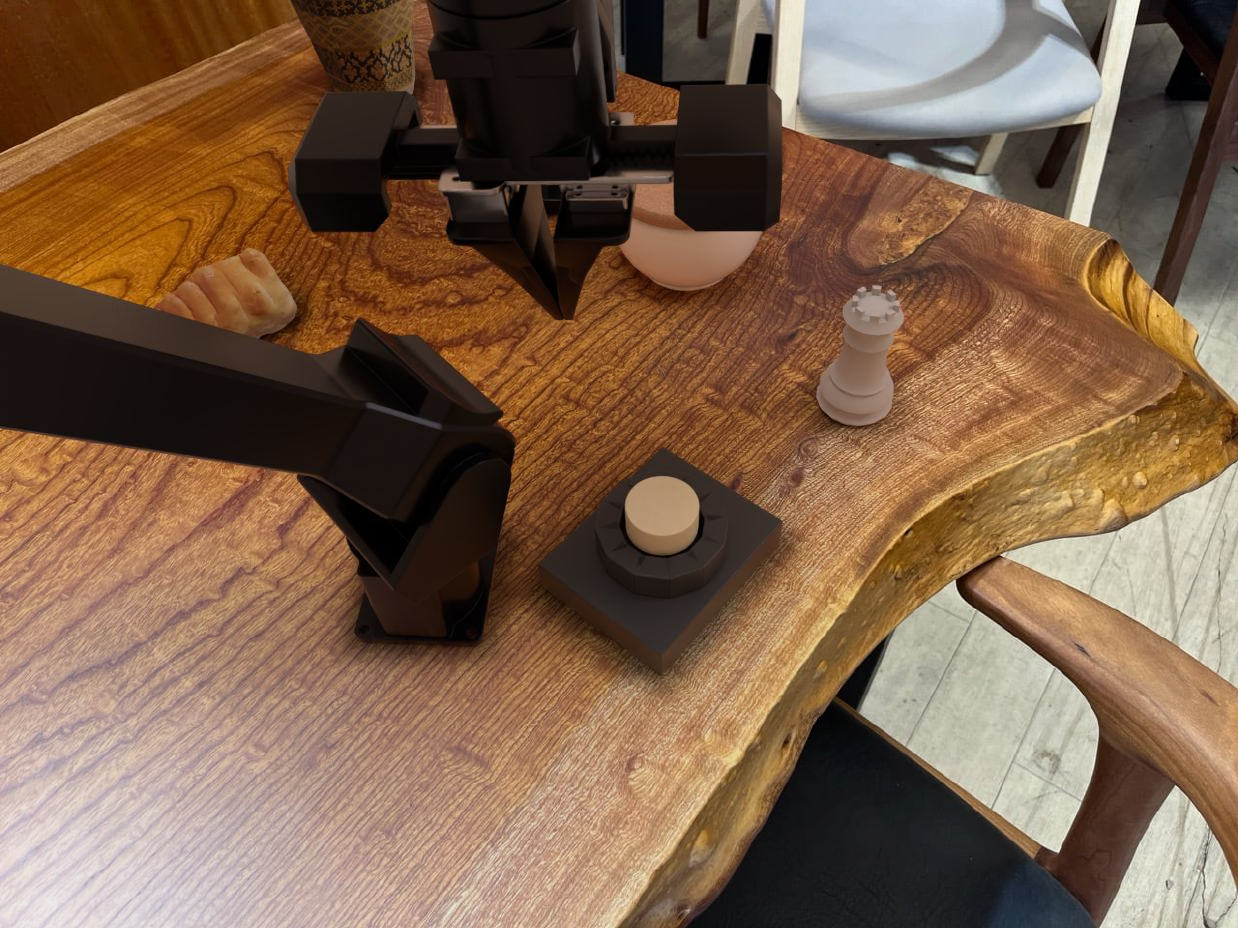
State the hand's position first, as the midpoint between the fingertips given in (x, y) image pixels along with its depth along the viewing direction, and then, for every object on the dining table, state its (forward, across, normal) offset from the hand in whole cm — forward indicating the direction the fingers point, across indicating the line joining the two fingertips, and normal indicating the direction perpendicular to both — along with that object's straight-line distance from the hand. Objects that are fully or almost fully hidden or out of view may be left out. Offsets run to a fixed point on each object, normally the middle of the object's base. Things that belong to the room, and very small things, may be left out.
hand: (565, 313), depth 44 cm
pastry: (+12, +25, -11) cm, 30 cm away
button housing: (+13, -4, +6) cm, 15 cm away
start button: (+9, -4, +6) cm, 12 cm away
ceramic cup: (+14, +24, -41) cm, 50 cm away
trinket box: (+14, -4, -19) cm, 24 cm away
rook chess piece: (+14, -15, -6) cm, 21 cm away
